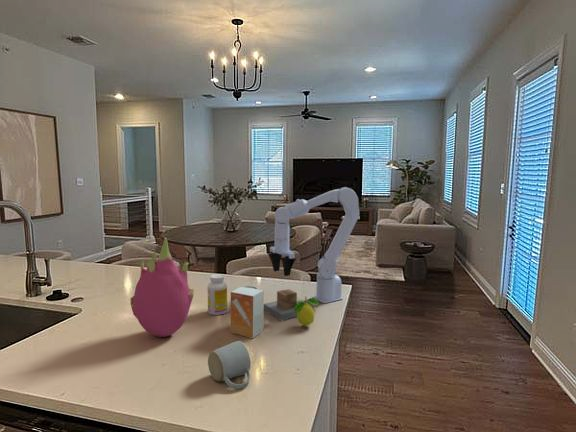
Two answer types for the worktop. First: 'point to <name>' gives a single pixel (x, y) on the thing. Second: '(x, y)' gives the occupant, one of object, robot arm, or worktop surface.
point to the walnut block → (286, 299)
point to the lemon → (305, 312)
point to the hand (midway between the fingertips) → (281, 273)
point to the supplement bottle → (217, 295)
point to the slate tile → (280, 311)
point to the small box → (247, 311)
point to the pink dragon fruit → (162, 295)
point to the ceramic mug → (230, 363)
